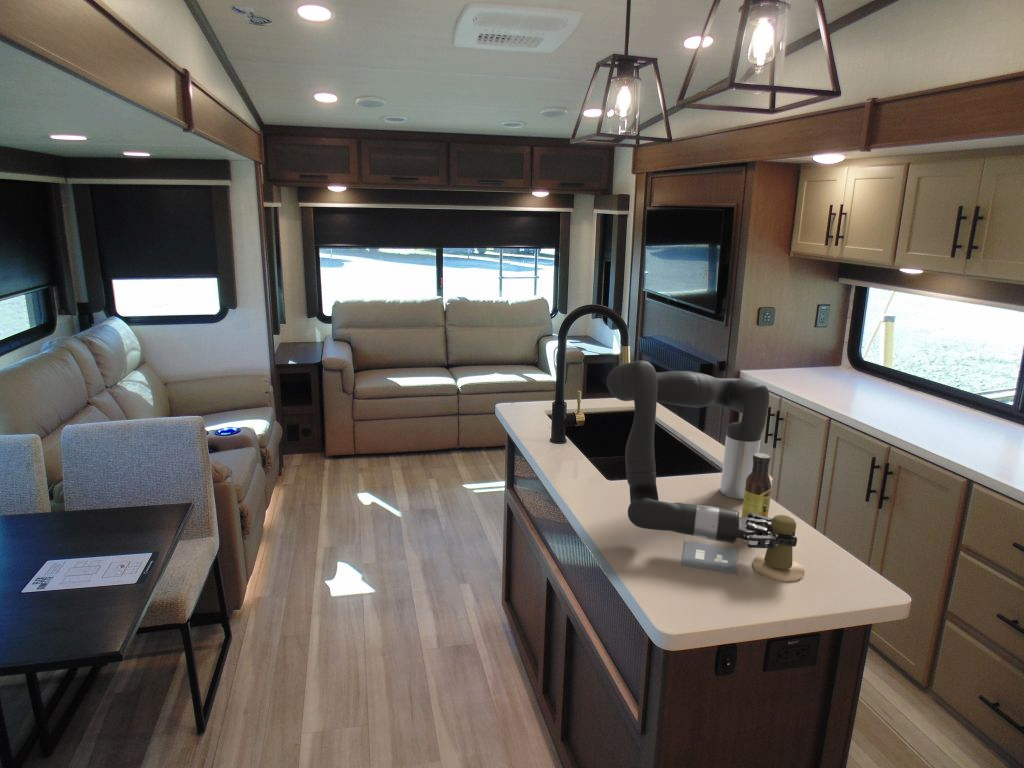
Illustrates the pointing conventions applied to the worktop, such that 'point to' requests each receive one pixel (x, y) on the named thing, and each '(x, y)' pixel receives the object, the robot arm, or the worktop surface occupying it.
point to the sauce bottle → (757, 487)
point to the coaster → (778, 570)
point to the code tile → (710, 557)
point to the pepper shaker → (780, 553)
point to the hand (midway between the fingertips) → (795, 536)
